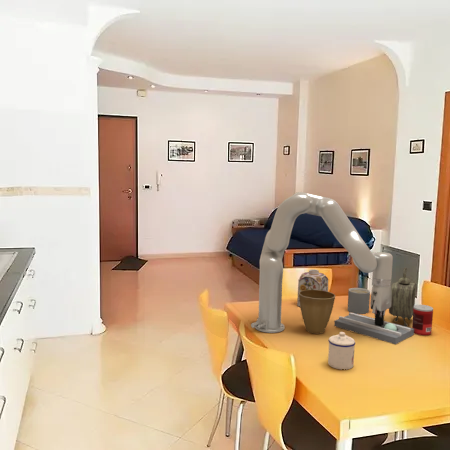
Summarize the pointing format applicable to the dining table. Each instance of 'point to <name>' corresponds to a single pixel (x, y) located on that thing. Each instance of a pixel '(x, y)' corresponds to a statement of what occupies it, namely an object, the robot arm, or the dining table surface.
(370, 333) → the board
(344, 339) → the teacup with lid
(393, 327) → the ball
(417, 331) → the canned food
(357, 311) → the coffee mug
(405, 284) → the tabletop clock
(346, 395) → the dining table surface
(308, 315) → the plant pot
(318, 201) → the robot arm
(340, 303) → the dining table surface
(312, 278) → the decorative jar
